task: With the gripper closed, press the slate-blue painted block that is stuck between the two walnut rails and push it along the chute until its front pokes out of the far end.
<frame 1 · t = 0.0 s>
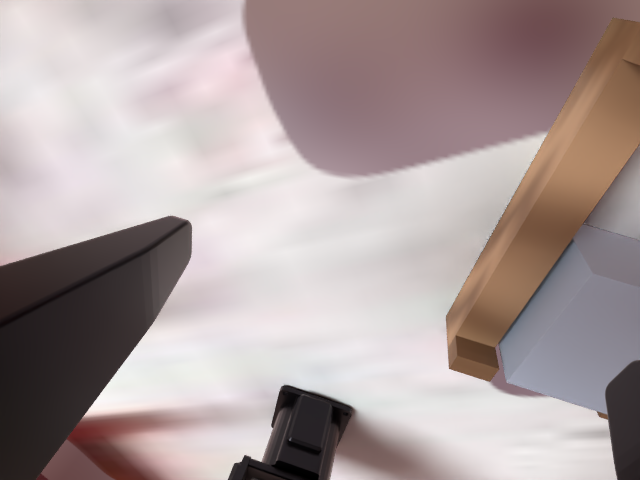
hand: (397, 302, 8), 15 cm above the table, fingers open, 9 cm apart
chute: (612, 232, 21), on the table
block: (583, 316, 21), point 3 cm above the table, slide at 0.0 cm
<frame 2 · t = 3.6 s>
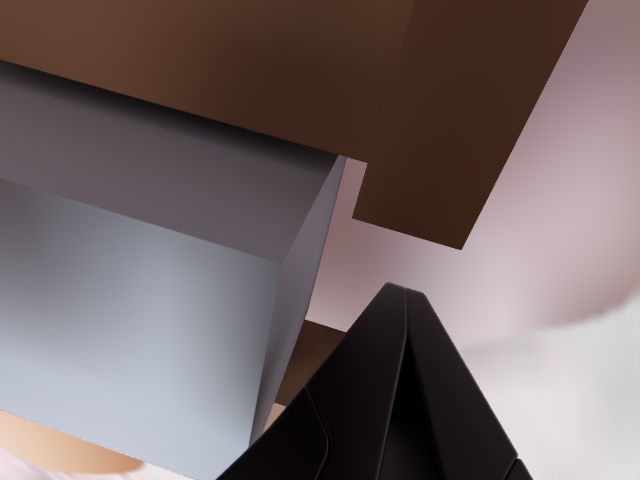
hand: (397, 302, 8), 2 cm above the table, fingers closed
chute: (60, 152, 10), on the table
block: (112, 238, 8), point 3 cm above the table, slide at 0.8 cm, touching gripper
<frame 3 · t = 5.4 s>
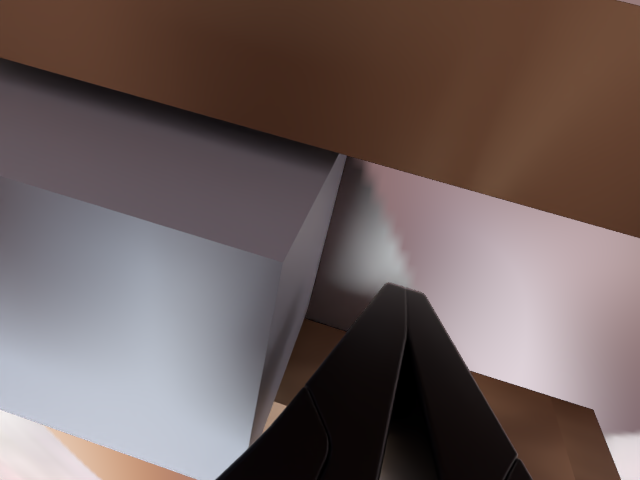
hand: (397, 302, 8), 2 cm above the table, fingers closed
chute: (302, 223, 10), on the table
block: (111, 237, 8), point 2 cm above the table, slide at 7.4 cm, touching gripper
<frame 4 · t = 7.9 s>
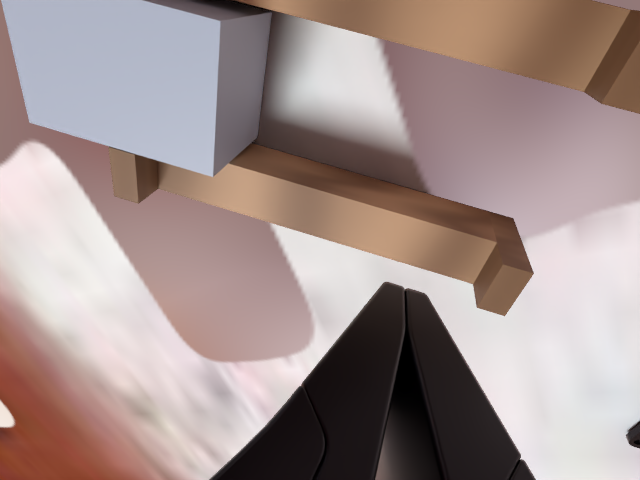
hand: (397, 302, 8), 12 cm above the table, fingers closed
chute: (348, 103, 18), on the table
block: (152, 66, 16), point 2 cm above the table, slide at 12.0 cm
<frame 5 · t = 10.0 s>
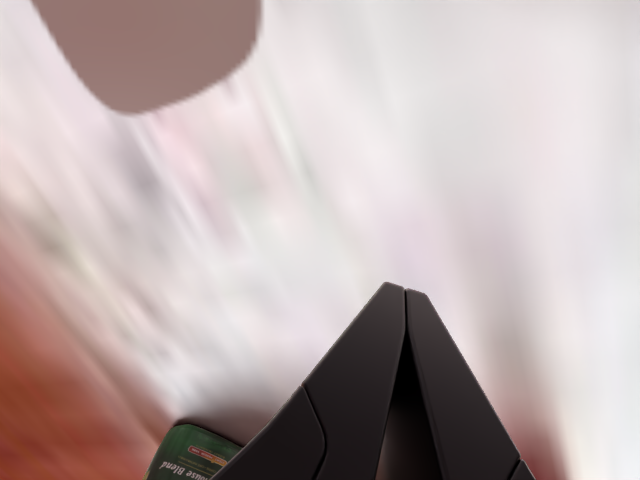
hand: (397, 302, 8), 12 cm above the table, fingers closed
coffee jar: (214, 446, 38), on the table
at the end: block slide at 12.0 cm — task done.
